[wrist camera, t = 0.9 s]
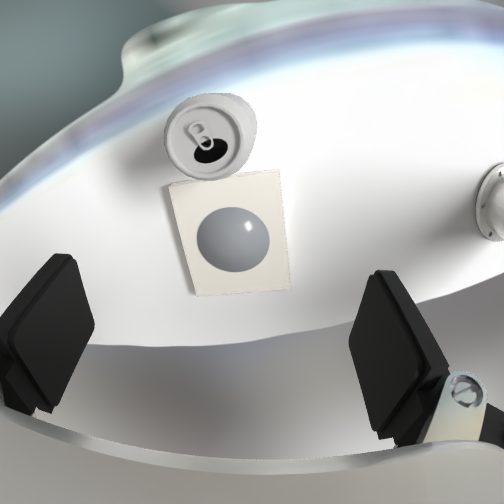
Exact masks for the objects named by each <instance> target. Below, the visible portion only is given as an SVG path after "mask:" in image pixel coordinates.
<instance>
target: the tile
mask: <svg viewBox="0 0 504 504" xmlns="http://www.w3.org/2000/svg"><path fill="white" fill-rule="evenodd" d="M168 188H169V192H170V196H171V201H172V205H173V209H174V213H175V217H176V221H177V225H178V229H179V233H180V237H181V241H182V245H183V248H184V252H185V256H186V260H187V263H188V267H189V270H190V274H191V278H192V281H193V285H194V288H195V292H196V295H197V296H210V295H224V294H238V293H251V292H263V291H275V290H286V289H290V277H289V265H288V254H287V243H286V232H285V221H284V211H283V201H282V192H281V182H280V173H279V169H274V170H264V171H255V172H247V173H239V174H232V175H230V176H229V177H227V178H224V179H220V180H216V181H203V180H197V179H195V180H189V181H182V182H176V183H172V184H171V185H170V186H169V187H168Z"/></svg>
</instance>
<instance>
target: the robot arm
mask: <svg viewBox="0 0 504 504" xmlns="http://www.w3.org/2000/svg"><path fill="white" fill-rule="evenodd" d="M476 220H477V224H478V227H479V229H480V231H481V232H482V233H483V234H484V235H485V236H486V237H487V238H488V239H490V240H492V241H497V242H498V241H503V240H504V163H502V164H500V165H498V166H496V167H495V168H494V169H493V170H491V171H490V173H489V174H488V175H487V176H486V178H485V180H484V181H483V183H482V185H481V188H480V190H479V193H478V196H477V202H476ZM94 325H95V324H94V319H93V316H92V313H91V310H90V307H89V304H88V300H87V297H86V294H85V290H84V287H83V283H82V280H81V276H80V272H79V269H78V265H77V262H76V260H75V259H73V257H72V256H71V255H70V254H59V253H56V254H54V255H53V256H52V257H51V258H50V259H49V260H48V261H47V262H46V263H45V264H44V265H43V266H42V267H41V269H40V270H39V271H38V272H37V273H36V274H35V275H34V277H33V278H32V279H31V280H30V281H29V282H28V283H27V285H26V286H25V287H24V288H23V289H22V291H21V292H20V293H19V294H18V295H17V297H16V298H15V299H14V300H13V301H12V303H11V304H10V305H9V306H8V308H7V309H6V310H5V312H4V313H3V314H2V315H1V317H0V504H504V412H503V411H501V410H499V409H498V408H496V407H494V406H492V405H490V404H488V403H487V391H486V388H485V386H484V385H483V383H482V381H481V380H480V379H479V378H478V377H476V376H475V375H473V374H472V373H469V372H466V371H456V372H453V373H452V374H450V372H449V370H448V367H449V364H448V362H447V360H446V359H445V357H444V355H443V353H442V351H441V349H440V347H439V345H438V344H437V342H436V340H435V338H434V336H433V334H432V333H431V331H430V329H429V327H428V326H427V324H426V322H425V320H424V319H423V317H422V315H421V313H420V312H419V310H418V309H417V307H416V305H415V303H414V302H413V300H412V298H411V297H410V295H409V293H408V292H407V290H406V288H405V287H404V285H403V284H402V282H401V281H400V279H399V277H398V276H397V274H396V273H395V272H394V271H387V270H377V271H376V272H375V273H374V275H370V276H369V278H368V281H367V285H366V288H365V291H364V294H363V298H362V301H361V304H360V307H359V310H358V313H357V316H356V319H355V322H354V325H353V328H352V331H351V333H350V336H349V348H350V351H351V355H352V358H353V362H354V365H355V369H356V372H357V376H358V379H359V383H360V386H361V390H362V393H363V397H364V401H365V405H366V409H367V412H368V416H369V420H370V424H371V428H372V430H373V431H377V434H378V438H379V440H381V439H387V438H392V437H393V439H394V443H395V446H394V448H393V449H389V450H382V451H376V452H369V453H362V454H353V455H344V456H334V457H323V458H309V459H286V460H252V459H227V458H212V457H202V456H192V455H183V454H175V453H168V452H162V451H156V450H150V449H145V448H139V447H134V446H129V445H125V444H120V443H116V442H112V441H107V440H103V439H99V438H95V437H92V436H88V435H85V434H81V433H77V432H74V431H71V430H68V429H65V428H62V427H58V426H55V425H53V424H50V423H47V422H44V421H41V420H39V419H36V416H35V412H34V411H35V408H36V406H37V408H38V409H39V410H42V411H45V412H48V413H50V414H51V413H52V411H53V409H54V406H57V405H58V404H59V402H60V400H61V398H62V396H63V393H64V391H65V389H66V387H67V384H68V382H69V380H70V378H71V376H72V373H73V371H74V369H75V367H76V365H77V363H78V361H79V359H80V357H81V354H82V353H83V350H84V349H85V347H86V345H87V343H88V341H89V339H90V337H91V335H92V333H93V331H94Z"/></svg>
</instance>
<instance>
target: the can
mask: <svg viewBox="0 0 504 504" xmlns="http://www.w3.org/2000/svg"><path fill="white" fill-rule="evenodd" d="M256 131H257V120H256V116H255V112H254V111H253V109H252V108H251V106H250V105H249V103H247V102H246V101H245V100H243V99H242V98H241V97H239V96H236V95H233V94H230V93H210V94H200V95H197V96H194V97H191V98H188V99H187V100H185V101H184V102H182V103H181V104H180V105H178V106H177V107H176V108H175V110H174V111H173V112H172V114H171V115H170V116H169V118H168V121H167V124H166V127H165V130H164V144H165V147H166V150H167V154H168V157H169V158H170V159H171V161H172V162H173V164H174V165H175V166H176V168H177V169H179V170H180V171H181V172H183V173H184V174H185V175H187V176H189V177H192V178H195V179H197V180H203V181H216V180H220V179H224V178H227V177H229V176H230V175H232V174H234V173H235V172H237V171H239V169H240V168H241V167H242V166H243V165H244V164H245V163H246V161H247V160H248V158H249V155H250V153H251V151H252V148H253V145H254V141H255V136H256Z"/></svg>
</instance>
